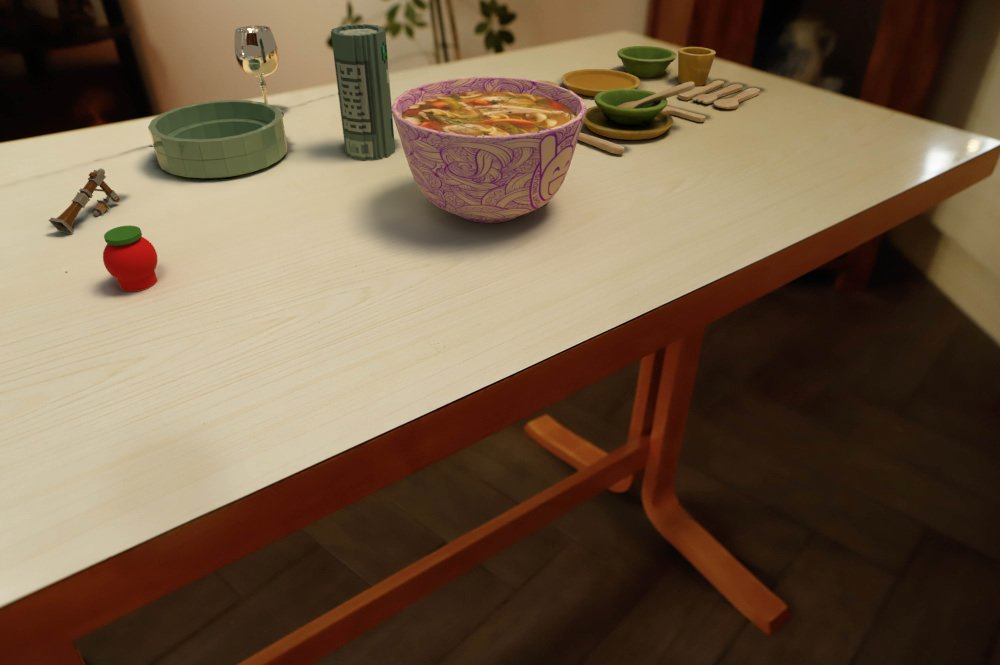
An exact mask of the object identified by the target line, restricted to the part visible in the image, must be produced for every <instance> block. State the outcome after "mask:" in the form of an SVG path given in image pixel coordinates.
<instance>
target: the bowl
mask: <svg viewBox="0 0 1000 665" xmlns="http://www.w3.org/2000/svg"><path fill="white" fill-rule="evenodd" d="M282 113H283V112H282V111H281V110H280V109H279V108H278V107H277V106H275V105H272V104H270V103H268V104H267V103H264V102H262V101H255V100H248V99H224V100H222V99H219V100H210V101H202V102H195V103H191V104H187V105H182V106H179V107H175V108H173V109H171V110H168V111H165V112H162V113H161V114H159V115H157V116H156V117H154V118H153V119H152V120H151V121H150V123H149V124H148V127H147V128H148V131H149V136H150V140H151V142H152V146H153V149H154V154H155V156H156V159H157V163H158V165H159V167H160V169H161V170H163V171H165V172H166V173H169V174H171V175H175V176H178V177H183V178H194V179H225V178H231V177H237V176H243V175H246V174H250V173H253V172H257V171H259V170H262V169H266V168H268V167H270V166H271V165H273V164H275V163H277V162H279V161H280V160H282V158H284V157H285V155H286V154H287V152H288V143H287V136H286V131H285V125H284V119H283V118H284V117H282Z"/></svg>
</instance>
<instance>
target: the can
mask: <svg viewBox="0 0 1000 665" xmlns="http://www.w3.org/2000/svg"><path fill="white" fill-rule="evenodd" d="M386 32H387V31H386V28H385V27H383V26H381V25H380V26H379V25H377V24H369V23H368V24H366V23H363V24H361V23H360V24H359V23H356V24H346V25H340V26H337V27H334V28H332V29H331V30H330V35H331V36H330V37H331V44H332V51H333V52H332V53H333V60H334V61H333V62H334V69H335V77H336V86H337V94H338V102H339V110H340V117H341V125H342V135H343V141H344V149H345V151H344V152H345V154H346V156H347V157H350V158H351V159H354V160H360V161H366V160H367V161H374V160H382V159H384V158H389V157H390V156H391V155H393V154H394V153H396V145H395V144H396V143H395V131H394V117H393V114H392V111H391V108H392V106H393V104H392V94H391V83H390V82H391V81H390V70H389V57H388V46H387V34H386Z"/></svg>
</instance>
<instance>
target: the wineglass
mask: <svg viewBox="0 0 1000 665" xmlns="http://www.w3.org/2000/svg"><path fill="white" fill-rule="evenodd" d="M234 54H235V59H236V62H237V65H238V66H239V69H240V70H241V71H242V72H243V73H245V74H246V75H248V76H251V77H254V78H258V79H259V80H258V86H259V89H260V91H261V93H262V97H263V103H267V104H269V103H268V98H267V97H268V96H267V82H266V80H265V78H266V77H268V76H270V75H272V74H273V73H275V72H276V71H277V70H278V67H279V65H280V54H279V49H278V45H277V42H276V39H275V37H274V34H273V31H272V29H271V27H269V26H265V25H247V26H240V27H237V28H236V29H235V30H234ZM284 117H285V113H284V112H282V118H284Z"/></svg>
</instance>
